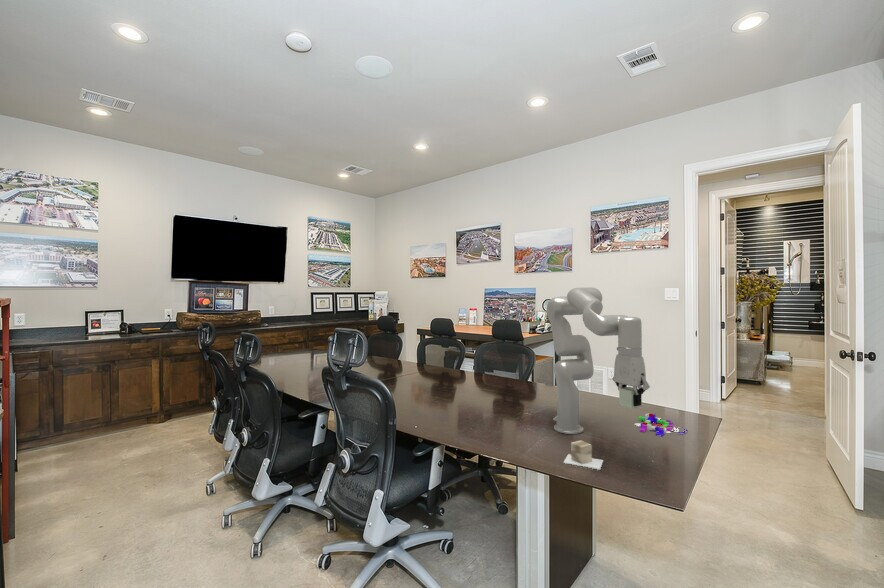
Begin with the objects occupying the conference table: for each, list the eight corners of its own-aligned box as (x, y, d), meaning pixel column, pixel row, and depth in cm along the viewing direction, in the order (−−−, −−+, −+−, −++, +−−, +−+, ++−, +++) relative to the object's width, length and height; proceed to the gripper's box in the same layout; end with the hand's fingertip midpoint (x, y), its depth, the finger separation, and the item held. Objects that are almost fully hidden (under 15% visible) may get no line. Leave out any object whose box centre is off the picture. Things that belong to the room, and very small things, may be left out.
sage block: (619, 405, 141) (619, 388, 141) (629, 403, 143) (629, 386, 143) (631, 408, 136) (631, 391, 136) (641, 406, 138) (641, 389, 138)
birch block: (571, 459, 145) (570, 442, 145) (581, 456, 147) (580, 440, 147) (581, 464, 140) (581, 447, 140) (591, 461, 143) (591, 444, 143)
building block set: (681, 441, 164) (681, 430, 164) (628, 431, 177) (628, 421, 177) (691, 425, 183) (691, 415, 183) (642, 417, 196) (642, 408, 196)
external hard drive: (600, 473, 137) (563, 466, 143) (603, 464, 144) (568, 457, 150) (600, 468, 137) (563, 461, 143) (603, 459, 144) (568, 453, 150)
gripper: (603, 349, 145) (603, 399, 146) (643, 356, 130) (644, 411, 130) (618, 348, 149) (618, 396, 149) (659, 354, 133) (659, 408, 133)
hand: (630, 403), depth 139 cm, fingers closed on sage block, 5 cm apart
